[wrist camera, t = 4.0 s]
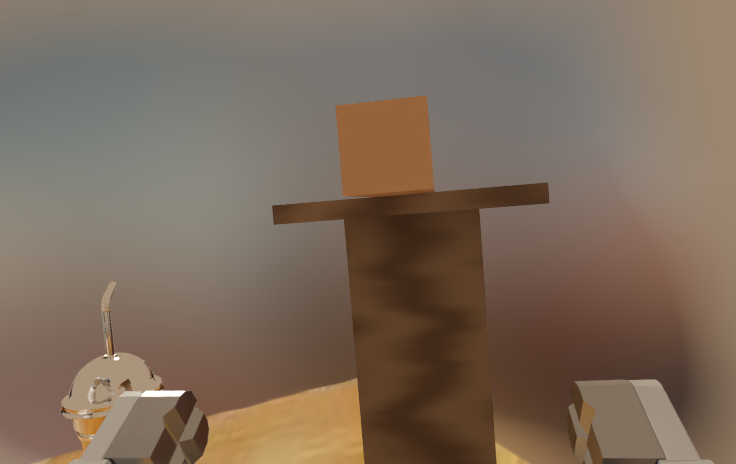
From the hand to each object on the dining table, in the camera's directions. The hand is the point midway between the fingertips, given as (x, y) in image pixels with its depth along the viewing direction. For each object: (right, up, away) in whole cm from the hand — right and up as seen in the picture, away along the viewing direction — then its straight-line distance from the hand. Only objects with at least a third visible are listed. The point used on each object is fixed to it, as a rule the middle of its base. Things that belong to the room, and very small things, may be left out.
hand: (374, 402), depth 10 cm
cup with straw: (-23, -22, +34) cm, 47 cm away
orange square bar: (+2, +6, +15) cm, 16 cm away
